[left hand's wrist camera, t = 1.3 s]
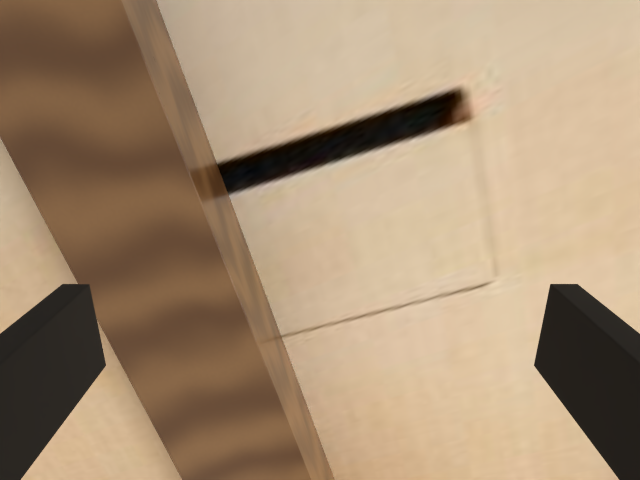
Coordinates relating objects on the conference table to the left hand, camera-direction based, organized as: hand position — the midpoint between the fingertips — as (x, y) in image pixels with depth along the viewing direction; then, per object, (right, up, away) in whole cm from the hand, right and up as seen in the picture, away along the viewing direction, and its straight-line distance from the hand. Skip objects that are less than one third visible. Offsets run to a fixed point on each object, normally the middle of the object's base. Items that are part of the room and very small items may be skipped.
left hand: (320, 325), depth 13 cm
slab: (-8, -8, +26) cm, 28 cm away
